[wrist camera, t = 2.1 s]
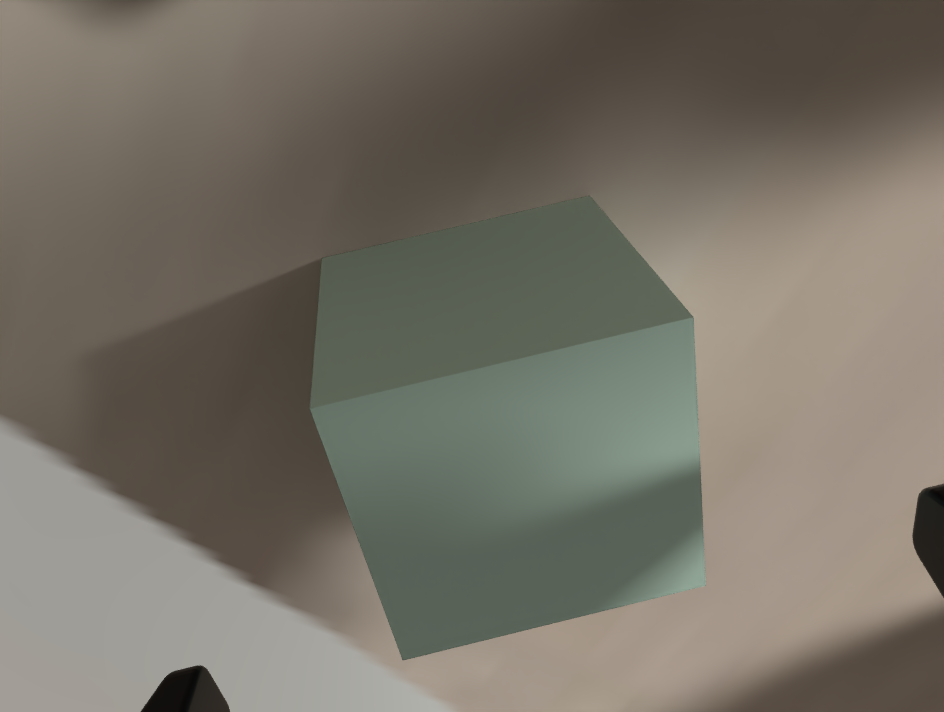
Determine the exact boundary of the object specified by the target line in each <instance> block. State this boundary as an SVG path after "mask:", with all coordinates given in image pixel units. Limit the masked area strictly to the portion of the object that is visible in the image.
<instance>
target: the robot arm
mask: <svg viewBox="0 0 944 712" xmlns="http://www.w3.org/2000/svg"><path fill="white" fill-rule="evenodd" d="M913 544H914V548H915V550H916V553H917V555H918V556H919V558H920V560H921V562H922V563H923V565H924V566H925V568H926V570H927V571H928V573H929V575H930V576H931V578H932V580H933V581H934V583H935V585H936V586H937V588H938V589H939V591H940V593H941V594H942V596H943V598H944V484H941V485H937V486H932V487H928V488H925V489H923V490H922V491H921V493H920V494H919V496H918V501H917V508H916V514H915V521H914V528H913ZM141 712H230V709H229V706H228V704H227V702H226V700H225V698H224V697H223V695H222V694H221V692H220V690H219V688H218V686H217V685H216V683H215V681H214V680H213V678H212V676H211V674H210V673H209V671H208V670H207V669H206V668H205V667H203V666H193V667H190V668H185V669H181V670H177V671H174V672H171V673H170V674H169V675H167V676H166V677H165V678H164V680H163V681H162V682H161V684H160V685H159V686H158V688H157V689H156V691H155V692H154V694H153V695H152V696H151V698H150V699H149V701H148V702H147V704H146V705H145V706H144V708H143V709H142V711H141Z"/></svg>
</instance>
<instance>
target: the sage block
mask: <svg viewBox="0 0 944 712" xmlns="http://www.w3.org/2000/svg"><path fill="white" fill-rule="evenodd" d="M310 411H311V414H312V416H313V419H314V422H315V424H316V427H317V430H318V432H319V435H320V438H321V441H322V443H323V446H324V449H325V451H326V454H327V457H328V460H329V462H330V465H331V468H332V470H333V473H334V476H335V478H336V481H337V484H338V487H339V489H340V492H341V495H342V497H343V500H344V503H345V505H346V508H347V511H348V514H349V516H350V519H351V522H352V524H353V527H354V530H355V533H356V535H357V538H358V541H359V543H360V546H361V549H362V551H363V554H364V557H365V560H366V562H367V565H368V568H369V570H370V573H371V576H372V579H373V581H374V584H375V587H376V589H377V592H378V595H379V597H380V600H381V603H382V606H383V608H384V611H385V614H386V616H387V619H388V622H389V625H390V627H391V630H392V633H393V635H394V638H395V641H396V643H397V646H398V649H399V652H400V654H401V657H402V660H407V659H411V658H415V657H419V656H423V655H427V654H431V653H435V652H439V651H443V650H447V649H451V648H455V647H459V646H463V645H467V644H471V643H475V642H479V641H484V640H488V639H492V638H496V637H500V636H504V635H508V634H512V633H516V632H520V631H524V630H528V629H532V628H536V627H540V626H544V625H548V624H552V623H557V622H561V621H565V620H569V619H573V618H577V617H581V616H585V615H589V614H593V613H597V612H601V611H605V610H609V609H613V608H617V607H621V606H625V605H629V604H634V603H638V602H642V601H646V600H650V599H654V598H658V597H662V596H666V595H670V594H674V593H678V592H682V591H686V590H690V589H694V588H698V587H702V586H706V581H705V559H704V537H703V515H702V493H701V471H700V449H699V427H698V405H697V384H696V362H695V340H694V318H693V316H692V315H691V314H690V313H689V311H688V310H687V309H686V308H685V307H684V306H683V304H682V303H681V302H680V301H679V300H678V299H677V297H676V296H675V295H674V294H673V293H672V292H671V290H670V289H669V288H668V287H667V286H666V284H665V283H664V282H663V281H662V280H661V279H660V277H659V276H658V275H657V274H656V273H655V272H654V270H653V269H652V268H651V267H650V266H649V265H648V263H647V262H646V261H645V260H644V259H643V258H642V256H641V255H640V254H639V253H638V252H637V251H636V249H635V248H634V247H633V246H632V245H631V244H630V242H629V241H628V240H627V239H626V238H625V237H624V235H623V234H622V233H621V232H620V231H619V230H618V228H617V227H616V226H615V225H614V224H613V222H612V221H611V220H610V219H609V218H608V217H607V215H606V214H605V213H604V212H603V211H602V210H601V208H600V207H599V206H598V205H597V204H596V203H595V201H594V200H593V199H592V198H591V197H590V196H586V197H581V198H577V199H573V200H568V201H564V202H560V203H556V204H551V205H547V206H543V207H539V208H534V209H530V210H526V211H521V212H517V213H513V214H509V215H504V216H500V217H496V218H492V219H487V220H483V221H479V222H474V223H470V224H466V225H462V226H457V227H453V228H449V229H445V230H440V231H436V232H432V233H427V234H423V235H419V236H415V237H410V238H406V239H402V240H398V241H393V242H389V243H385V244H380V245H376V246H372V247H368V248H363V249H359V250H355V251H351V252H346V253H342V254H338V255H333V256H329V257H325V258H322V263H321V275H320V288H319V300H318V313H317V325H316V337H315V350H314V362H313V375H312V387H311V399H310Z"/></svg>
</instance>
